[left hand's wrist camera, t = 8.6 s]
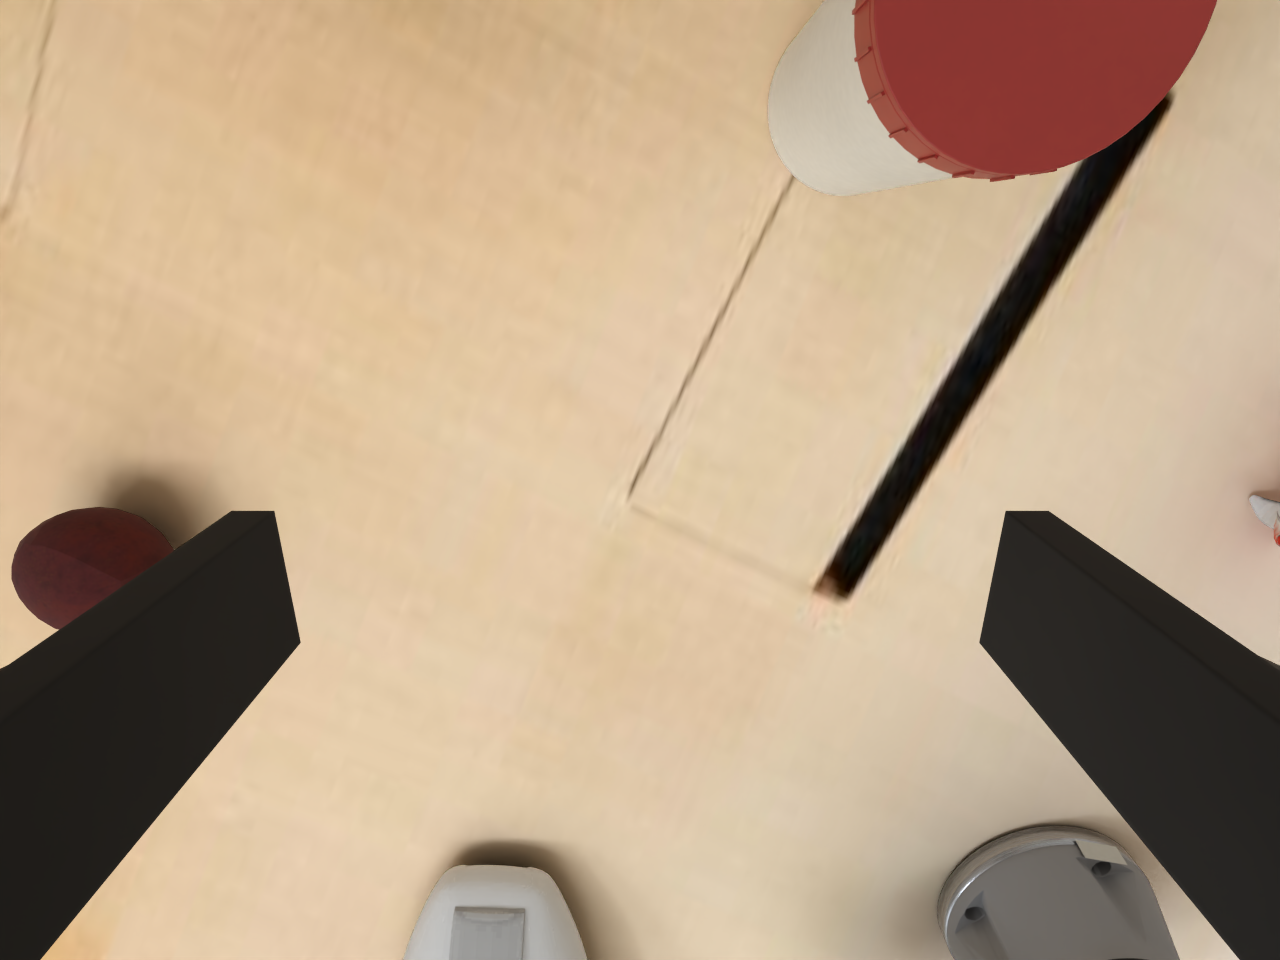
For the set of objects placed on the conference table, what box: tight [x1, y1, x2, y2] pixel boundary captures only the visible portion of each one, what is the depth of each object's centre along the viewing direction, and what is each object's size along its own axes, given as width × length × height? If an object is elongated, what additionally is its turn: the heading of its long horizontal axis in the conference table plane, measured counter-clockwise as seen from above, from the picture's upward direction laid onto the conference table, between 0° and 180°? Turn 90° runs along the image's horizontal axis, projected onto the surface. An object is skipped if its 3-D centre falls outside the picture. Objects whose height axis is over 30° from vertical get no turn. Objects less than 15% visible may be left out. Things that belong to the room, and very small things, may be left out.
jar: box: [768, 0, 952, 196], centre depth 26 cm, size 8×8×17 cm
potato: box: [12, 507, 174, 630], centre depth 39 cm, size 7×8×7 cm
